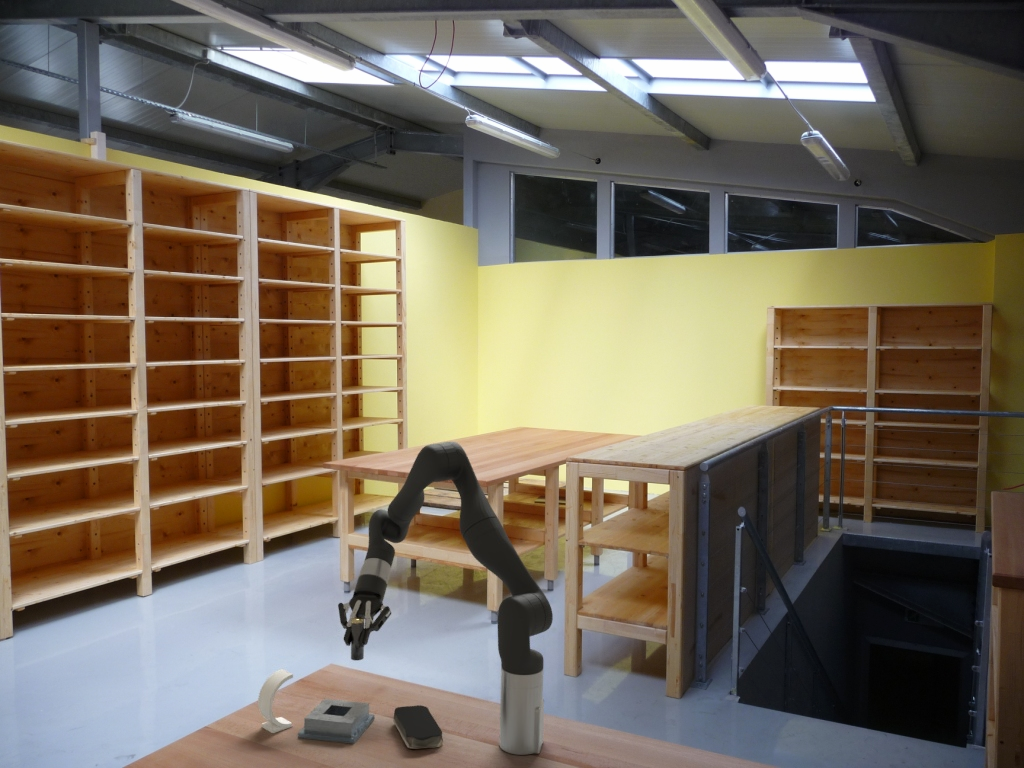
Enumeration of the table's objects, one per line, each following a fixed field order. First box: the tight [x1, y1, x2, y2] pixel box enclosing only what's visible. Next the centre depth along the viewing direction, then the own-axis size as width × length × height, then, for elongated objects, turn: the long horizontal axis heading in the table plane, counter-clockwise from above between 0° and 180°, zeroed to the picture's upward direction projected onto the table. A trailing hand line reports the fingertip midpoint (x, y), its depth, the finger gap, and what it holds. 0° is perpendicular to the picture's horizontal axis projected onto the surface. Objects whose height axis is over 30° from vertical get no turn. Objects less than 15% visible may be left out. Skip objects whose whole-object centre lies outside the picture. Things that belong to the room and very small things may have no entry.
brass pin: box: [350, 617, 365, 661], centre depth 197 cm, size 3×3×10 cm
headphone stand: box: [257, 668, 294, 734], centre depth 186 cm, size 5×6×12 cm
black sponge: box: [393, 704, 444, 750], centre depth 184 cm, size 16×8×4 cm, turn 20°
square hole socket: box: [297, 698, 376, 745], centre depth 186 cm, size 13×13×4 cm
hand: (354, 644), depth 195 cm, fingers closed on brass pin, 3 cm apart
